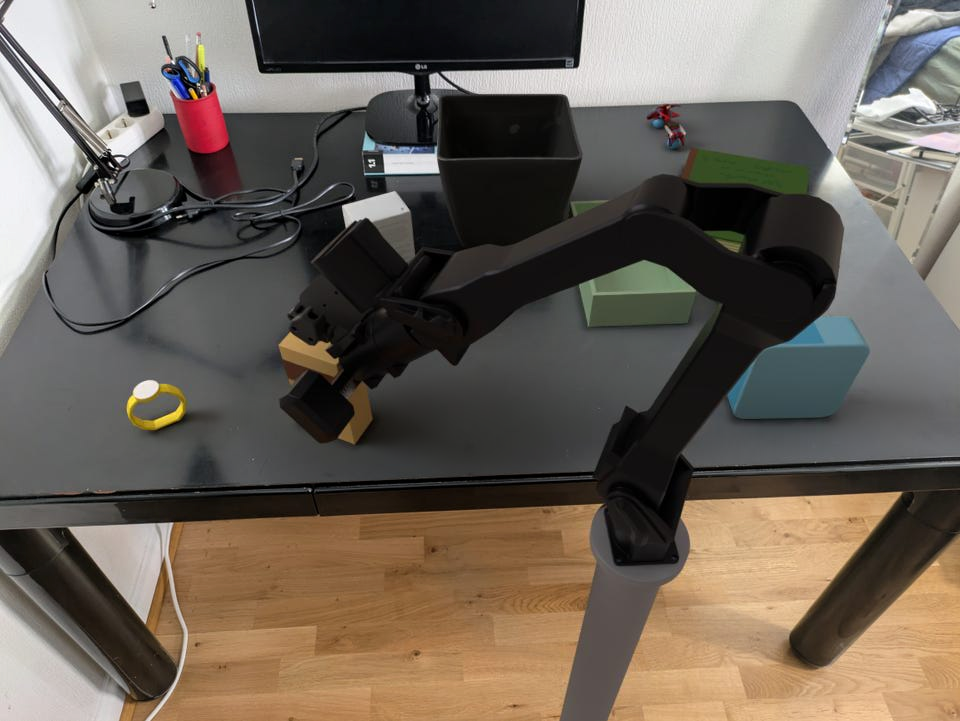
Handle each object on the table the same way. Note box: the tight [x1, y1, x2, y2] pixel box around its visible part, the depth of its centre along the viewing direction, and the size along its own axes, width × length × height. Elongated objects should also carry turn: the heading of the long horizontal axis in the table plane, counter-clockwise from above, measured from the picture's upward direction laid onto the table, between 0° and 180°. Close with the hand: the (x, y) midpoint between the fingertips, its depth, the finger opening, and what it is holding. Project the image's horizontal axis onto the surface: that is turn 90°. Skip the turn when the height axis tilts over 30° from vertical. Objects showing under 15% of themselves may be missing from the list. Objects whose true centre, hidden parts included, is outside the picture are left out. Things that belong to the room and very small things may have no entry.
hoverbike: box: [646, 103, 687, 150], centre depth 124 cm, size 5×12×6 cm, turn 9°
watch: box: [126, 379, 187, 431], centre depth 78 cm, size 6×3×6 cm, turn 118°
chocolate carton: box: [277, 331, 373, 445], centre depth 75 cm, size 7×4×13 cm, turn 66°
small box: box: [341, 190, 416, 262], centre depth 96 cm, size 8×6×10 cm
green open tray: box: [567, 199, 697, 328], centre depth 96 cm, size 21×13×6 cm, turn 3°
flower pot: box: [436, 93, 583, 249], centre depth 101 cm, size 19×19×17 cm
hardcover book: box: [680, 146, 810, 252], centre depth 106 cm, size 25×19×4 cm
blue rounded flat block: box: [726, 315, 871, 420], centre depth 77 cm, size 12×4×12 cm, turn 91°
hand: (318, 378), depth 75 cm, fingers open, 9 cm apart
